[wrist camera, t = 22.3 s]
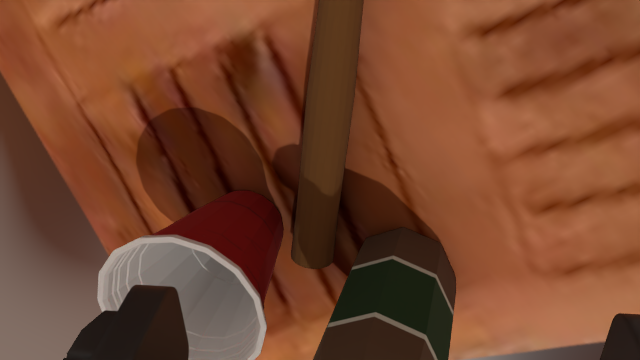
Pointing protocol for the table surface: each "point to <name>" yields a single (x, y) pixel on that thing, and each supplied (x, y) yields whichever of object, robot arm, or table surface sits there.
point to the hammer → (326, 130)
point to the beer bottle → (393, 302)
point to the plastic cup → (207, 272)
